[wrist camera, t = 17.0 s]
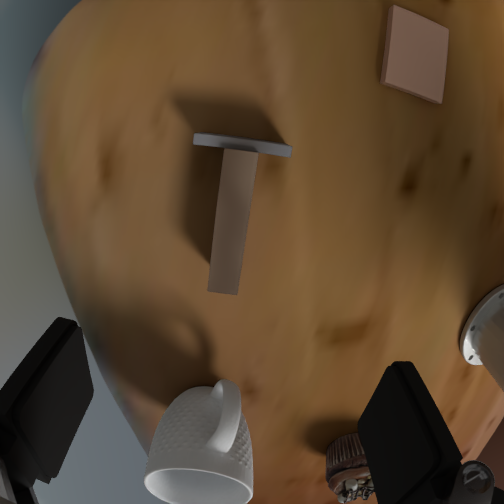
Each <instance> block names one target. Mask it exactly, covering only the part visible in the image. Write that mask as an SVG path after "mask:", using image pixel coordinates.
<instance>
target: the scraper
mask: <svg viewBox="0 0 504 504" xmlns="http://www.w3.org/2000/svg"><path fill="white" fill-rule="evenodd" d="M193 144H195V145H204V146H213V147H222V148H224V154H223V162H222V169H221V177H220V185H219V193H218V201H217V209H216V217H215V226H214V234H213V243H212V252H211V262H210V271H209V281H208V291H209V292H216V293H224V294H232V295H237V294H238V287H239V280H240V273H241V267H242V260H243V253H244V247H245V240H246V233H247V227H248V220H249V213H250V207H251V200H252V194H253V187H254V181H255V174H256V168H257V161H258V155H259V153H265V154H272V155H278V156H284V157H290V158H291V152H292V146H290V145H288V144H285V143H279V142H272V141H266V140H259V139H253V138H245V137H238V136H230V135H222V134H214V133H204V132H200V133H194V139H193Z"/></svg>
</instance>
